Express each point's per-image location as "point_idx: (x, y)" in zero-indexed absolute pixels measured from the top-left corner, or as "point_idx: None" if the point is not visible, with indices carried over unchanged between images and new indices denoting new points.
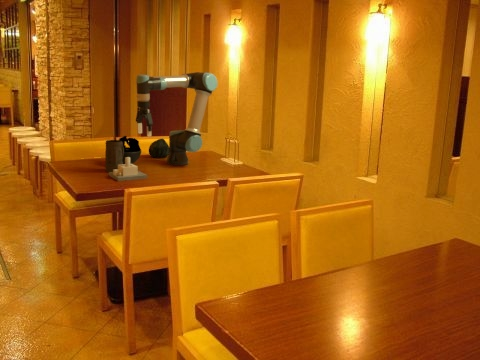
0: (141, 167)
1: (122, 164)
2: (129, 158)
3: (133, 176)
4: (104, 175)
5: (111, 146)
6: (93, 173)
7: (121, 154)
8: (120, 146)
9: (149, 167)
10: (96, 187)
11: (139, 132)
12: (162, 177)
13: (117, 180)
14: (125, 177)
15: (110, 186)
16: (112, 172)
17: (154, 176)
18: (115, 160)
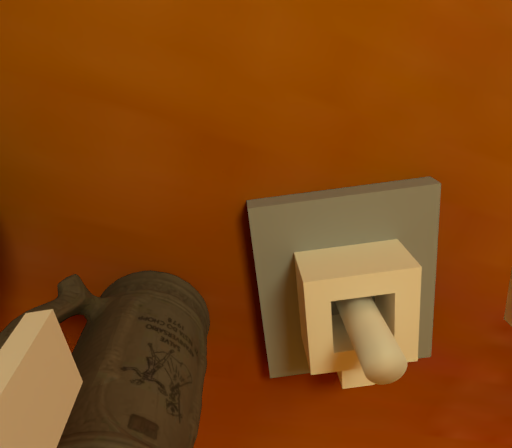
0: (42, 108)
1: (308, 346)
2: (403, 354)
3: (435, 275)
4: (255, 381)
5: None
6: None
7: (150, 362)
8: (156, 437)
9: (49, 37)
10: (491, 441)
11: (65, 379)
12: (454, 57)
13: None
14: (432, 319)
15: (507, 392)
16: (279, 361)
17: (397, 107)
18: (203, 380)
